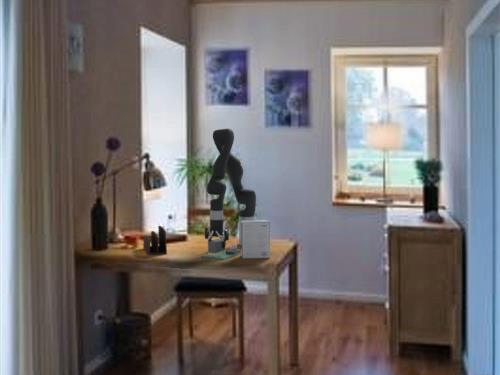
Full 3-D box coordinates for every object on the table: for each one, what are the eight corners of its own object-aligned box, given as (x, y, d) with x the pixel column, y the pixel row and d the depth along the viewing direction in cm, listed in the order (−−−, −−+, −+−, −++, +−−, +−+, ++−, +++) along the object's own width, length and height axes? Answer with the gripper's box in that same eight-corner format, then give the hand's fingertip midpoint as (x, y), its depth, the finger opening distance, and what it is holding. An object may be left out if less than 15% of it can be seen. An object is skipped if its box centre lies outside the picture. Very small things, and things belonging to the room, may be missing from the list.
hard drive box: (269, 255, 368) (269, 220, 365) (270, 258, 360) (270, 222, 358) (241, 255, 367) (241, 220, 365) (241, 258, 359) (241, 222, 357)
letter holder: (160, 247, 388) (160, 224, 387) (166, 254, 370) (166, 229, 368) (143, 248, 385) (142, 224, 384) (149, 255, 367) (148, 230, 365)
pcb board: (219, 251, 378) (219, 241, 378) (240, 253, 371) (240, 244, 371) (202, 257, 363) (202, 247, 362) (223, 259, 356) (223, 249, 355)
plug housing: (218, 249, 371) (218, 238, 371) (225, 250, 369) (225, 239, 368) (208, 252, 363) (208, 241, 362) (215, 253, 361) (215, 242, 360)
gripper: (231, 218, 364) (231, 247, 365) (209, 216, 371) (209, 244, 372) (224, 220, 357) (224, 249, 359) (202, 218, 364) (202, 247, 366)
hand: (216, 247), depth 366 cm, fingers open, 8 cm apart
